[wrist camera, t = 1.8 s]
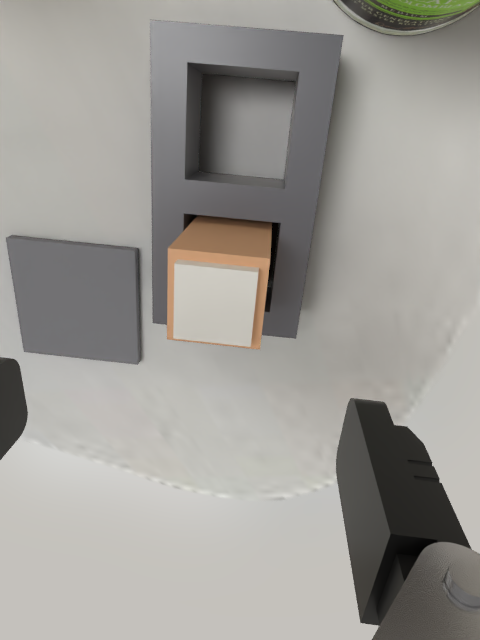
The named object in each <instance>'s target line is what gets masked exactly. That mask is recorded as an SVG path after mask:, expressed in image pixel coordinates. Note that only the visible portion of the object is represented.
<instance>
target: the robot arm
mask: <svg viewBox="0 0 480 640" xmlns="http://www.w3.org/2000/svg"><path fill="white" fill-rule="evenodd" d="M27 415H28V412H27V405H26V399H25V394H24V388H23V382H22V377H21V371H20V366H19V364H18V362H17V361H16V360H14V359H10V358H1V357H0V460H1V459H2V457H3V456H4V455H5V454H6V453H7V451H8V450H9V449H10V448H11V446H13V444H14V443H15V442H16V441H17V440H18V438H19V437H20V436H21V434H22V433H23V431H24V428H25V426H26V422H27ZM336 473H337V481H338V487H339V493H340V499H341V506H342V512H343V518H344V524H345V530H346V535H347V542H348V548H349V555H350V560H351V567H352V573H353V579H354V585H355V592H356V598H357V603H358V610H359V616H360V622H361V623H365V624H372V625H379V628H378V630H377V632H376V633H375V635H374V637H373V639H372V640H480V554H479V553H477V552H475V551H473V550H472V549H471V547H470V545H469V543H468V541H467V539H466V536H465V534H464V532H463V530H462V527H461V525H460V523H459V521H458V519H457V517H456V514H455V512H454V510H453V508H452V505H451V503H450V501H449V499H448V497H447V494H446V492H445V490H444V488H443V486H442V483H439V477H438V475H437V472H436V470H435V468H434V467H433V466H432V462H431V459H430V457H429V455H428V453H427V450H426V448H425V446H424V444H423V443H422V442H421V441H420V440H419V439H418V438H417V437H416V435H415V434H414V433H413V432H412V431H411V430H410V429H409V428H408V427H405V426H396V425H394V424H393V421H392V419H391V416H390V413H389V411H388V408H387V406H386V404H385V403H384V402H381V401H372V400H363V399H354V398H351V399H350V401H349V403H348V406H347V410H346V415H345V419H344V423H343V428H342V432H341V437H340V441H339V445H338V450H337V459H336Z"/></svg>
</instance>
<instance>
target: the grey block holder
mask: <svg viewBox="0 0 480 640" xmlns="http://www.w3.org/2000/svg"><path fill="white" fill-rule="evenodd" d="M342 41H343V35H334V34H321V33H309V32H297V31H284V30H272V29H260V28H247V27H235V26H223V25H210V24H198V23H186V22H173V21H161V20H150V62H151V179H152V296H153V323H157V324H166V325H167V287H168V248H169V246H170V245H171V244H172V243H173V242H174V241H175V240H176V239H177V238H178V237H179V235H180V234H181V233H182V232H183V231H184V230H185V229H186V228H187V227H188V226H189V224H190V223H191V222H192V221H193V220H194V219H195V218H196V217H197V215H205V216H215V217H225V218H235V219H246V220H256V221H266V222H276V223H278V231H277V239H276V247H275V256H274V264H273V272H272V281H271V287H268V286H267V292H266V301H265V310H264V318H263V327H262V335H267V336H276V337H286V338H295V339H296V335H297V329H298V323H299V316H300V310H301V303H302V297H303V291H304V284H305V278H306V272H307V265H308V259H309V252H310V246H311V240H312V233H313V227H314V220H315V214H316V208H317V201H318V195H319V188H320V182H321V176H322V169H323V163H324V156H325V150H326V144H327V137H328V131H329V124H330V118H331V112H332V105H333V99H334V92H335V86H336V80H337V73H338V67H339V60H340V54H341V48H342ZM202 73H203V74H214V75H226V76H238V77H249V78H261V79H273V80H285V81H295V89H294V98H293V106H292V114H291V123H290V131H289V139H288V147H287V156H286V164H285V172H284V180H282V179H271V178H261V177H250V176H239V175H229V174H218V173H208V172H199V151H200V124H201V97H202Z"/></svg>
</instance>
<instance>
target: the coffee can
mask: <svg viewBox="0 0 480 640" xmlns="http://www.w3.org/2000/svg"><path fill="white" fill-rule="evenodd" d="M334 1H335V3H336V4H337V5H338V6H339V7H340V8H341V9H342V10H343V11H344V12H345V13H346V14H347V15H349V16H350V17H351V18H352V19H354V20H355V21H357V22H359V23H360V24H362V25H364V26H366V27H368V28H370V29H373V30H375V31H378V32H381V33H384V34H390V35H416V34H422V33H426V32H430V31H433V30H436V29H439V28H442V27H445V26H447V25H449V24H451V23H453V22H455V21H457V20H459V19H461V18H462V17H464V16H466V15H467V14H469V13H470V12H472V11H473V10H474V9H475V8H477V7H478V6H479V5H480V0H334Z"/></svg>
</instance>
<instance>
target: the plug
mask: <svg viewBox="0 0 480 640" xmlns="http://www.w3.org/2000/svg"><path fill="white" fill-rule="evenodd" d="M271 235H272V222H266V221H256V220H246V219H235V218H225V217H215V216H205V215H198V216H197V217H196V218H195V219H194V220H193V221H192V222H191V223H190V224H189V226H188V227H187V228H186V229H185V230H184V231H183V232H182V233H181V234H180V235H179V237H178V238H177V239H176V240H175V241H174V242H173V243H172V244H171V245H170V246H169V248H168V287H167V339H169V340H178V341H187V342H197V343H206V344H215V345H224V346H233V347H242V348H251V349H260V344H261V335H262V327H263V318H264V310H265V301H266V292H267V284H268V275H269V267H270V257H271Z"/></svg>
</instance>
